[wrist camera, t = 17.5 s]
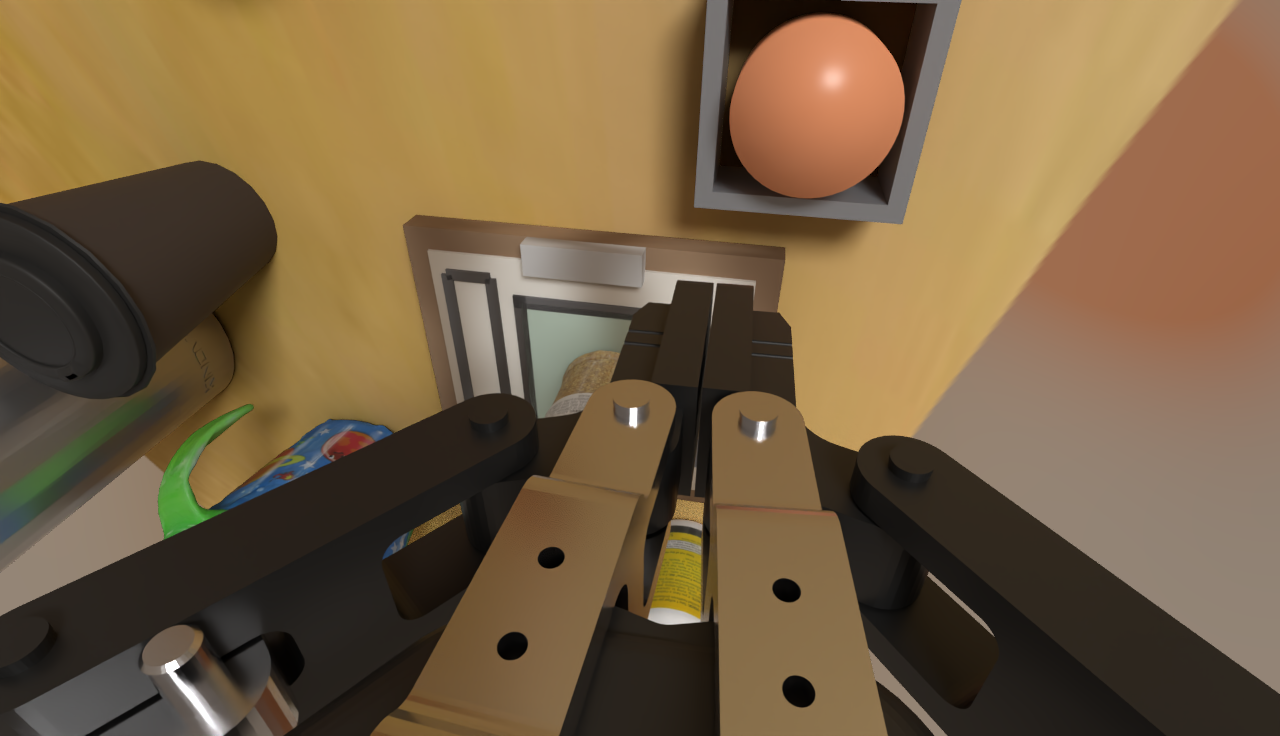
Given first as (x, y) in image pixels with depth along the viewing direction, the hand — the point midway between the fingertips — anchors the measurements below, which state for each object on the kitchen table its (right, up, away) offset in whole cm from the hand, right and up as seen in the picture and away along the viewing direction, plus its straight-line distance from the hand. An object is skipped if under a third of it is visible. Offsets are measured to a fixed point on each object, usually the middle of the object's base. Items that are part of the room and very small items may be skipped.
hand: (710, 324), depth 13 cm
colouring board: (-3, -1, +18) cm, 18 cm away
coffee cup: (-21, +6, +17) cm, 28 cm away
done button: (+4, +9, +9) cm, 13 cm away
